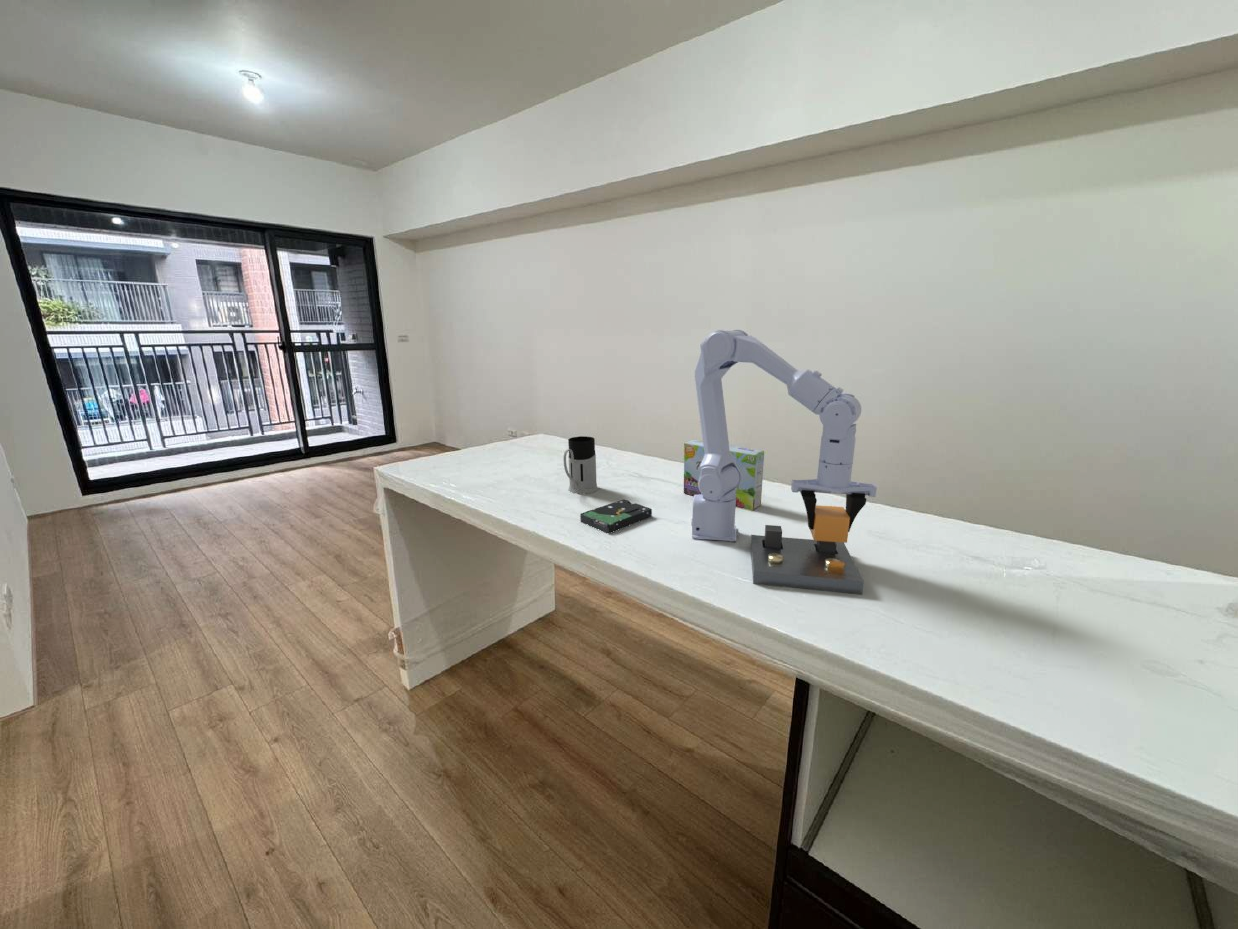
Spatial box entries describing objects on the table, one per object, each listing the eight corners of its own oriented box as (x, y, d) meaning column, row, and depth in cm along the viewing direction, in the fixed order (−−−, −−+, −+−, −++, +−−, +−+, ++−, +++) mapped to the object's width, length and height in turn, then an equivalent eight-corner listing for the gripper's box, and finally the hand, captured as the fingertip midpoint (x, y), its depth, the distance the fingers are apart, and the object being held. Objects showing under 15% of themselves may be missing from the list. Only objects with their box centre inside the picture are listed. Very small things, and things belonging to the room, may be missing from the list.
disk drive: (623, 508, 124) (579, 523, 114) (623, 498, 123) (579, 512, 113) (652, 519, 117) (608, 536, 107) (652, 508, 116) (608, 524, 106)
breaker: (764, 549, 94) (766, 530, 92) (764, 543, 96) (765, 524, 95) (780, 550, 93) (782, 531, 92) (779, 544, 96) (780, 525, 95)
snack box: (682, 494, 132) (683, 442, 128) (692, 489, 136) (694, 438, 132) (752, 511, 119) (756, 453, 115) (762, 505, 123) (766, 449, 119)
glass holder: (603, 486, 140) (602, 437, 136) (580, 501, 128) (578, 447, 124) (577, 483, 144) (575, 435, 140) (552, 497, 131) (549, 445, 127)
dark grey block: (817, 562, 92) (819, 543, 91) (815, 555, 95) (817, 537, 94) (834, 564, 91) (836, 545, 90) (831, 557, 94) (833, 538, 93)
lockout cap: (813, 540, 89) (816, 515, 88) (809, 528, 95) (811, 505, 94) (846, 542, 88) (849, 517, 87) (840, 530, 94) (843, 506, 92)
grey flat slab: (753, 583, 85) (754, 560, 84) (750, 545, 100) (751, 526, 99) (861, 594, 81) (865, 570, 80) (842, 553, 96) (844, 532, 95)
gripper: (796, 464, 85) (790, 534, 89) (885, 468, 82) (875, 540, 86) (792, 455, 92) (787, 520, 96) (873, 458, 89) (865, 525, 92)
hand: (828, 528), depth 91 cm, fingers closed on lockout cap, 6 cm apart
